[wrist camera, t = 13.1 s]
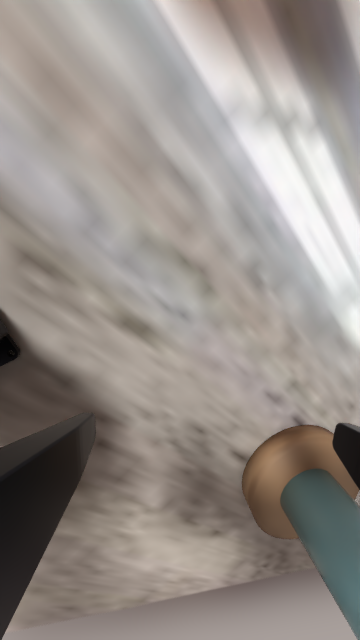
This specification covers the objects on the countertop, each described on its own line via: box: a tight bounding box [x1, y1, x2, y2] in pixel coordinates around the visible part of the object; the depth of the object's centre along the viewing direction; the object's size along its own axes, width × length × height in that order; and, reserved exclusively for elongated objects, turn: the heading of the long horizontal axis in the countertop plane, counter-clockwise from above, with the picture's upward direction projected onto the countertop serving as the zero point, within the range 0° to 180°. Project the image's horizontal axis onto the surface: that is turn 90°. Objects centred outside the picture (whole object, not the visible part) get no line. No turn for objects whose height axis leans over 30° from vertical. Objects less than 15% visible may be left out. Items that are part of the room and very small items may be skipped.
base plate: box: [242, 425, 359, 539], centre depth 26 cm, size 12×12×2 cm
